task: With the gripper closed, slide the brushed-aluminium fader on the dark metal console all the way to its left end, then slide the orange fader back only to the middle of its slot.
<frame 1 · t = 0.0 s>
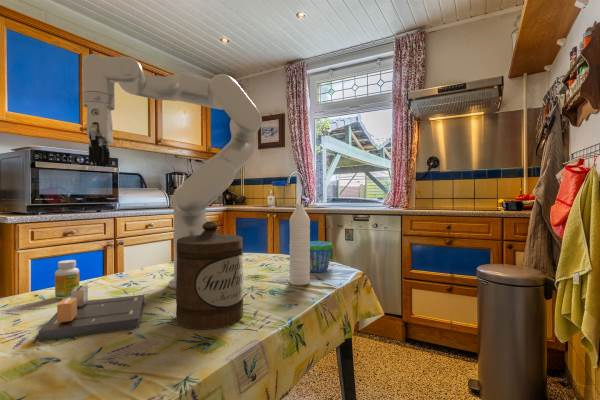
hand: (99, 163, 90), 37 cm above the table, tool pointing down, fingers open, 9 cm apart
supplement bottle: (67, 297, 88), on the table
water bottle: (302, 283, 101), on the table
aluminium fader: (79, 295, 75), point 4 cm above the table, slide at 10.0 cm
orange fader: (67, 309, 67), point 4 cm above the table, slide at 10.0 cm
wooden container: (210, 317, 74), on the table
snack cup: (317, 271, 117), on the table
console: (99, 319, 72), on the table
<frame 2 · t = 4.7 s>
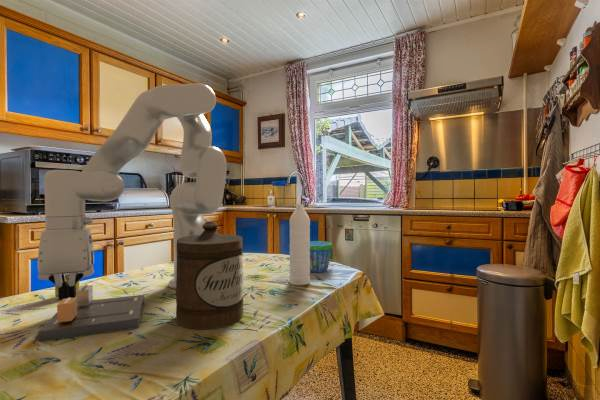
hand: (67, 302, 75), 3 cm above the table, tool pointing down, fingers closed
aluminium fader: (84, 295, 76), point 4 cm above the table, slide at 9.0 cm, touching gripper
everything else where it was.
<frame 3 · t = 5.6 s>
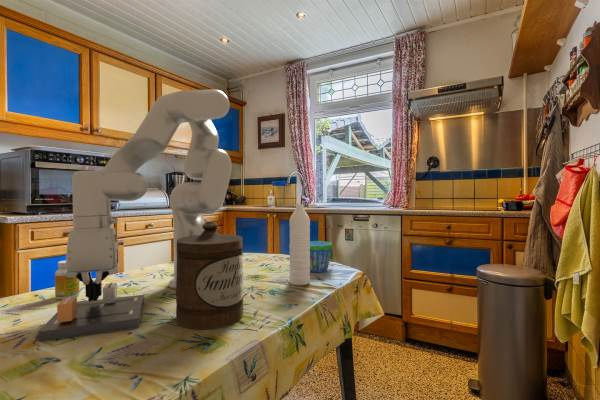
hand: (93, 299, 76), 3 cm above the table, tool pointing down, fingers closed
aluminium fader: (110, 292, 78), point 4 cm above the table, slide at 3.7 cm, touching gripper
everything else where it was.
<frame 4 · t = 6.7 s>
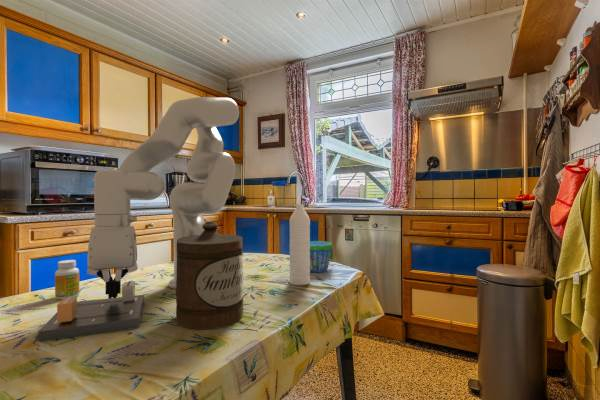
hand: (113, 296, 78), 3 cm above the table, tool pointing down, fingers closed
aluminium fader: (128, 290, 79), point 4 cm above the table, slide at -0.3 cm, touching gripper
everything else where it was.
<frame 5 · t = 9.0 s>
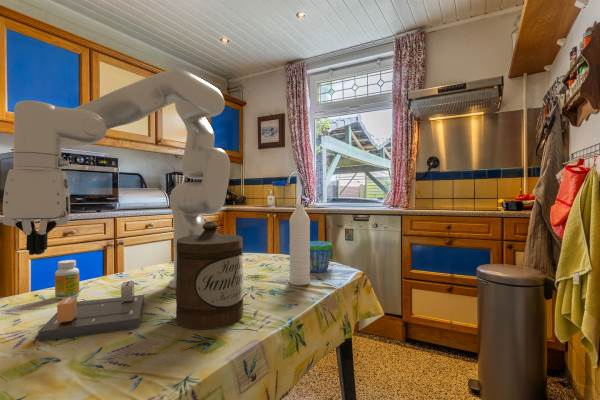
hand: (37, 253, 65), 16 cm above the table, tool pointing down, fingers closed
aluminium fader: (127, 290, 79), point 4 cm above the table, slide at 0.0 cm
everything else where it was.
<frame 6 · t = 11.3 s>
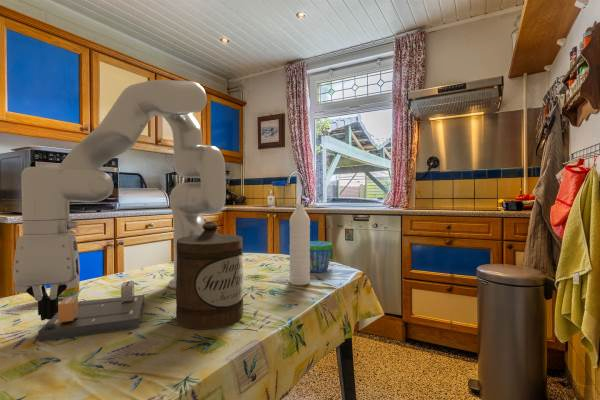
hand: (48, 317, 65), 3 cm above the table, tool pointing down, fingers closed
orange fader: (68, 309, 67), point 4 cm above the table, slide at 9.8 cm, touching gripper
everything else where it was.
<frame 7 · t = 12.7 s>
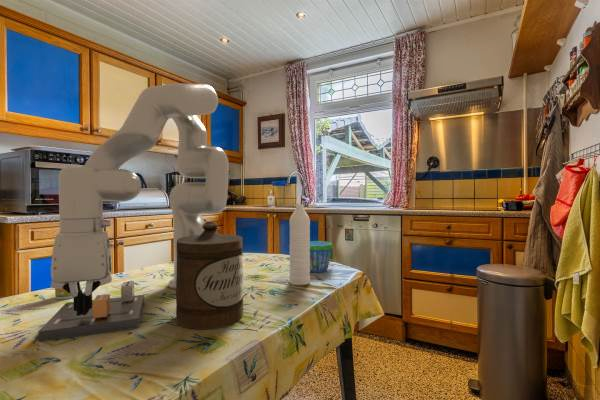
hand: (83, 313, 68), 3 cm above the table, tool pointing down, fingers closed
orange fader: (101, 305, 69), point 4 cm above the table, slide at 3.8 cm, touching gripper
everything else where it was.
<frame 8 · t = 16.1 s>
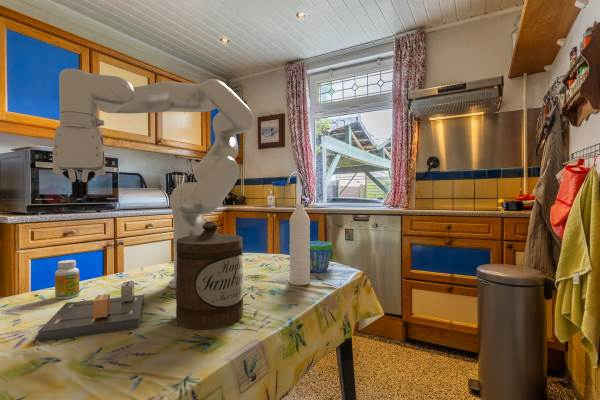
hand: (80, 198, 78), 27 cm above the table, tool pointing down, fingers closed
orange fader: (102, 305, 69), point 4 cm above the table, slide at 3.8 cm
everything else where it was.
at the end: aluminium fader slide at 0.0 cm; orange fader slide at 3.8 cm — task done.
